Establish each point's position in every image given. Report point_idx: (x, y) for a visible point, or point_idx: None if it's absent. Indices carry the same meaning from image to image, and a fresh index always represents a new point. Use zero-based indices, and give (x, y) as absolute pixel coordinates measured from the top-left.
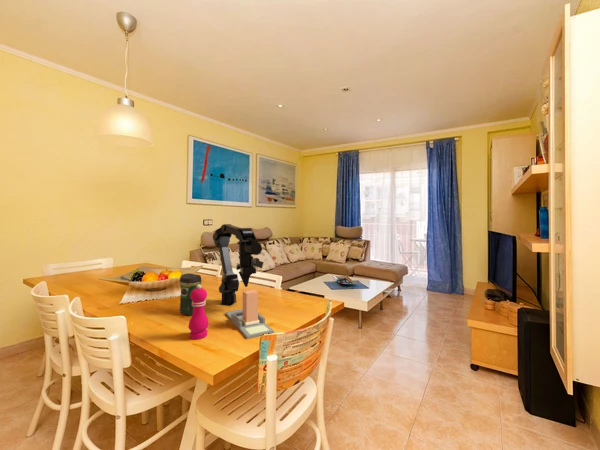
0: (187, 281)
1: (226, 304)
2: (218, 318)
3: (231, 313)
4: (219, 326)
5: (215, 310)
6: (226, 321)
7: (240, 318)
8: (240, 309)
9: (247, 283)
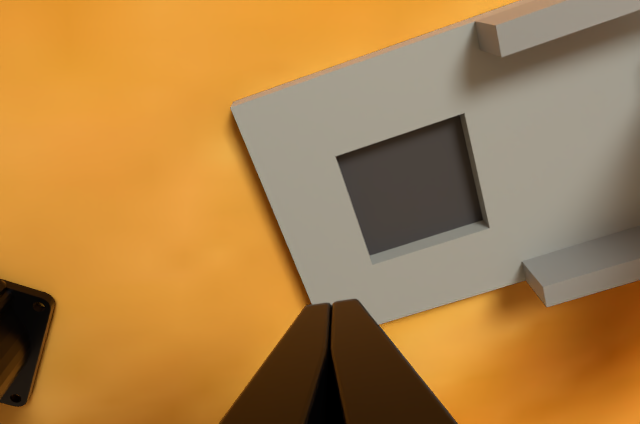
0: None
1: (41, 347)
2: (430, 370)
3: (389, 286)
4: (621, 345)
5: (207, 414)
6: (527, 304)
7: (570, 192)
8: (270, 200)
9: (394, 363)
